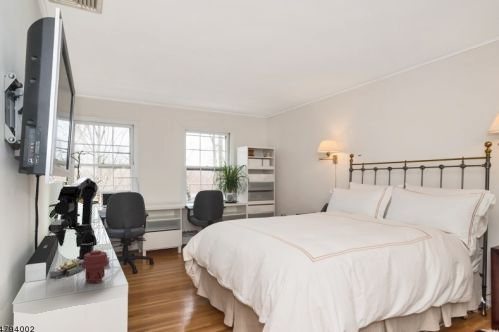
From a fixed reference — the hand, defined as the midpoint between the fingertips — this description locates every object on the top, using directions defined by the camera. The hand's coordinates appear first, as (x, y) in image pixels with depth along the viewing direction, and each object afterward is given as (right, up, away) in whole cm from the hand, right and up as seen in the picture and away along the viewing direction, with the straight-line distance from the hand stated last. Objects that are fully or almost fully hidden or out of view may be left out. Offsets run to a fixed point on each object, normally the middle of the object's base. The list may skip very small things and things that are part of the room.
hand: (69, 246), depth 131 cm
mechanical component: (+18, -11, -12) cm, 25 cm away
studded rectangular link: (0, -11, 0) cm, 11 cm away
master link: (0, -12, 0) cm, 12 cm away
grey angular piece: (+10, -12, +8) cm, 18 cm away
